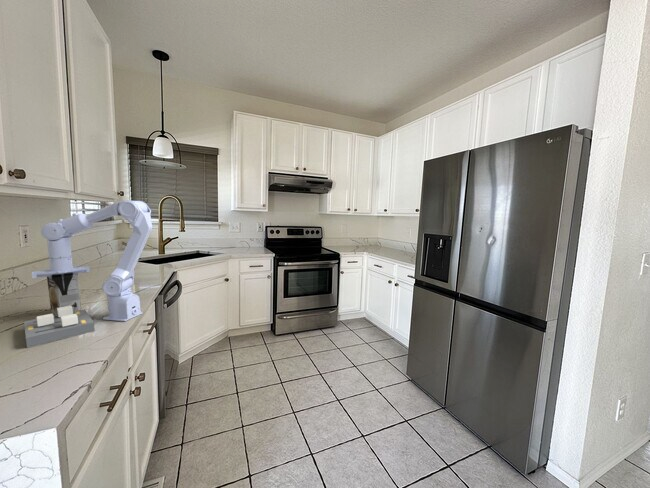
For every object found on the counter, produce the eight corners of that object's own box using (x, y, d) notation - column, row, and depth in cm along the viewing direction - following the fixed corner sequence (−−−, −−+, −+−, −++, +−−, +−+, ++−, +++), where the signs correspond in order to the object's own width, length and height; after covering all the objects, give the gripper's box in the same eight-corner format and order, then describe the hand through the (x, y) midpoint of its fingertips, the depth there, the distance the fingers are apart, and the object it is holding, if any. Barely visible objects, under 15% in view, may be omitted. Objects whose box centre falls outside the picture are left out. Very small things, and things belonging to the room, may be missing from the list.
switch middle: (53, 320, 88) (52, 313, 88) (54, 323, 86) (53, 316, 86) (37, 323, 85) (36, 316, 85) (37, 326, 83) (37, 319, 83)
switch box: (85, 316, 99) (84, 309, 99) (94, 330, 88) (93, 322, 88) (25, 330, 88) (24, 321, 88) (27, 348, 77) (25, 337, 77)
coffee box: (50, 312, 103) (45, 271, 101) (71, 307, 108) (67, 268, 106) (60, 317, 99) (55, 274, 97) (82, 311, 104) (78, 271, 102)
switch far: (71, 311, 95) (71, 305, 95) (73, 314, 93) (72, 307, 93) (57, 314, 93) (56, 308, 92) (58, 317, 90) (58, 310, 90)
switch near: (76, 320, 88) (75, 313, 88) (78, 323, 86) (77, 316, 86) (61, 323, 85) (60, 316, 85) (62, 326, 83) (61, 319, 83)
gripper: (28, 261, 86) (33, 302, 88) (88, 256, 96) (92, 293, 97) (31, 258, 91) (35, 296, 93) (87, 254, 101) (91, 288, 102)
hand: (64, 294), depth 95 cm, fingers closed
